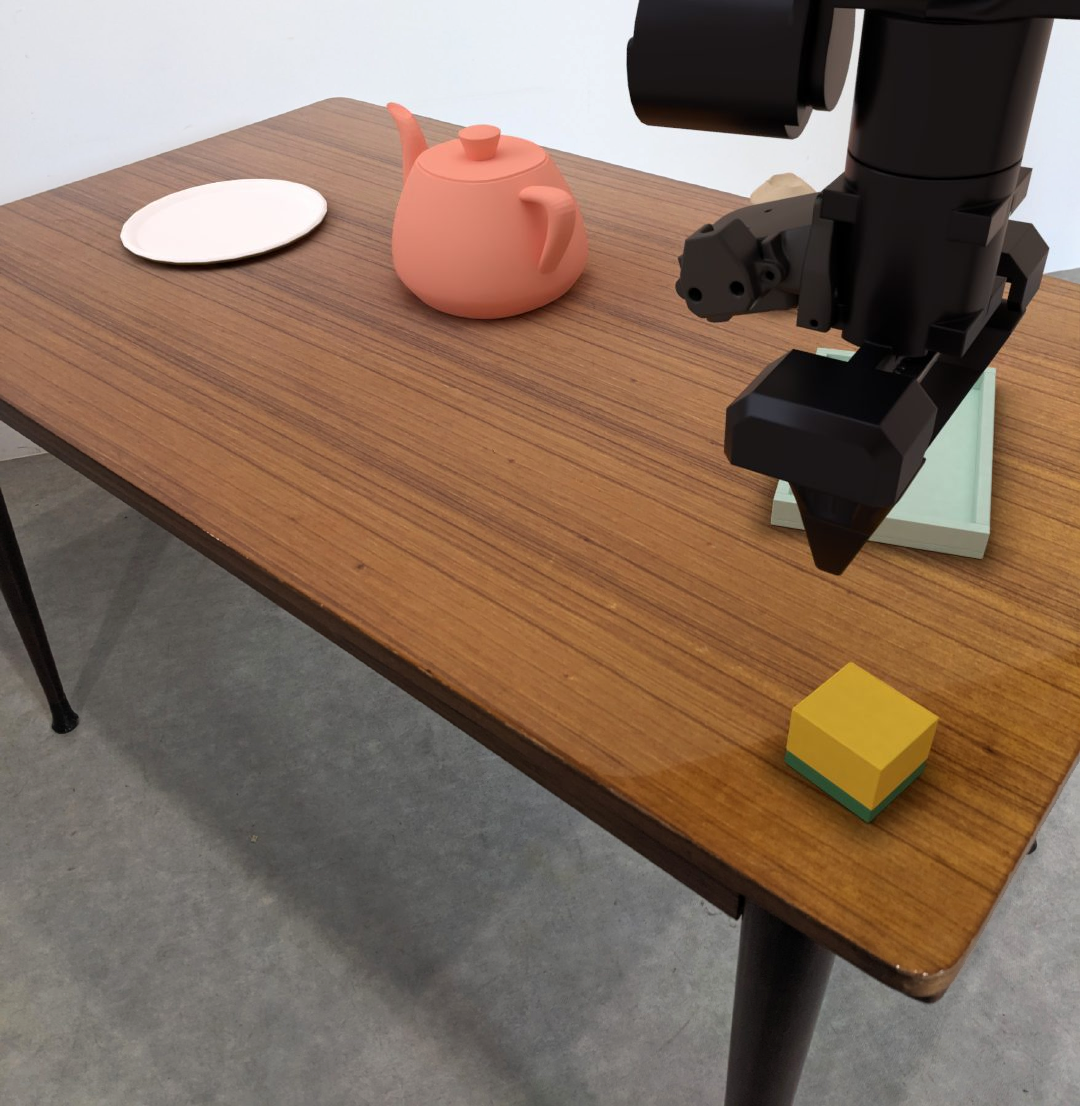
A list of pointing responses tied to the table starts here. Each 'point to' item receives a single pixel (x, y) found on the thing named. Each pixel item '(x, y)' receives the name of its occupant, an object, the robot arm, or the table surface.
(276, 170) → the table surface
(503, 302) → the teapot
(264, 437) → the table surface
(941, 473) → the tray
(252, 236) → the plate
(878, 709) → the sponge
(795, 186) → the candle
